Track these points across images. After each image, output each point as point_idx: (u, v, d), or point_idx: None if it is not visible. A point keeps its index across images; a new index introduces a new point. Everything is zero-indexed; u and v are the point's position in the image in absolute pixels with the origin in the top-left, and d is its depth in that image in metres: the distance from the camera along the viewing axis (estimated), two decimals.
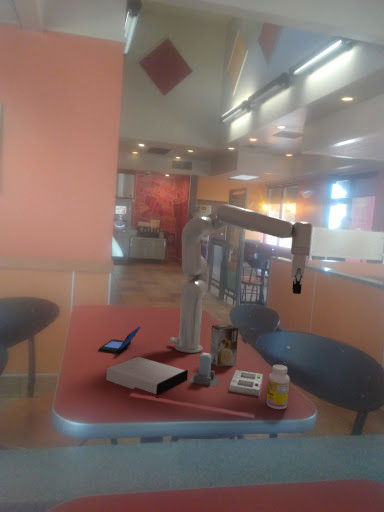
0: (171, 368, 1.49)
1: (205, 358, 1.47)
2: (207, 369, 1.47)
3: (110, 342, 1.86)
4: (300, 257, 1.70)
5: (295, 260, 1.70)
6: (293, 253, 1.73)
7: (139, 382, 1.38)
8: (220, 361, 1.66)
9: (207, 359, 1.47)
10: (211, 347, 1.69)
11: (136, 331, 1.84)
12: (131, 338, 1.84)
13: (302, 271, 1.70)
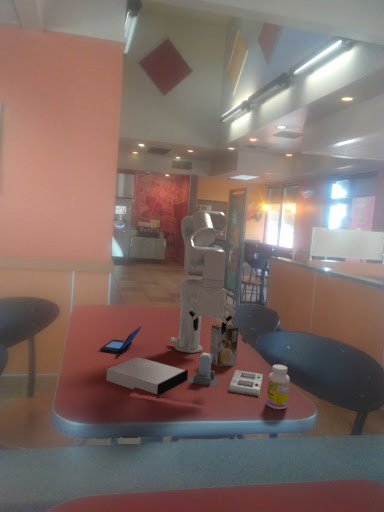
0: (171, 368, 1.49)
1: (205, 358, 1.47)
2: (207, 369, 1.47)
3: (111, 342, 1.85)
4: None
5: (224, 296, 1.44)
6: (217, 288, 1.44)
7: (140, 382, 1.37)
8: (220, 361, 1.66)
9: (207, 359, 1.47)
10: (211, 347, 1.69)
11: (137, 331, 1.84)
12: (132, 338, 1.84)
13: None
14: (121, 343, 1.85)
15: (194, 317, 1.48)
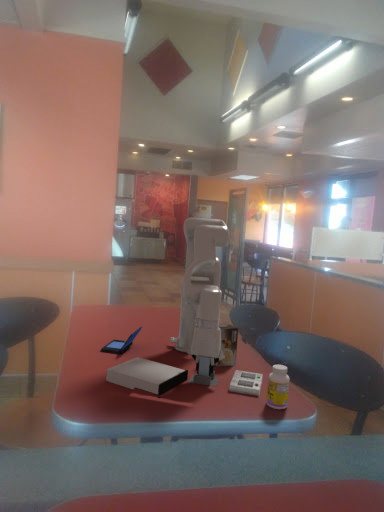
0: (171, 368, 1.49)
1: (205, 358, 1.47)
2: (207, 369, 1.47)
3: (112, 342, 1.85)
4: (220, 331, 1.47)
5: (219, 336, 1.45)
6: (213, 328, 1.44)
7: (140, 382, 1.37)
8: (220, 361, 1.66)
9: (207, 359, 1.47)
10: None
11: (138, 331, 1.84)
12: (133, 338, 1.84)
13: None
14: (122, 343, 1.85)
15: (197, 360, 1.48)
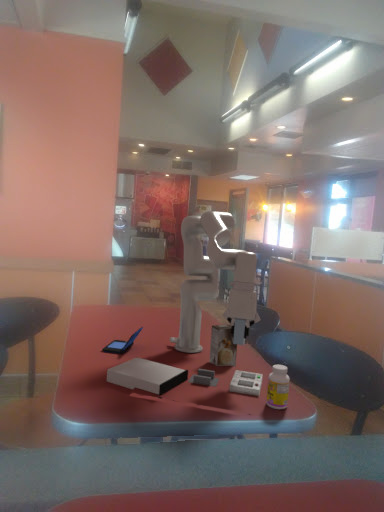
0: (171, 368, 1.49)
1: (240, 321, 1.47)
2: (242, 332, 1.47)
3: (113, 342, 1.85)
4: None
5: (255, 298, 1.46)
6: (248, 290, 1.45)
7: (141, 383, 1.37)
8: (220, 361, 1.66)
9: (242, 322, 1.47)
10: (211, 347, 1.69)
11: (139, 331, 1.84)
12: (134, 338, 1.84)
13: None
14: (123, 343, 1.85)
15: (232, 323, 1.49)
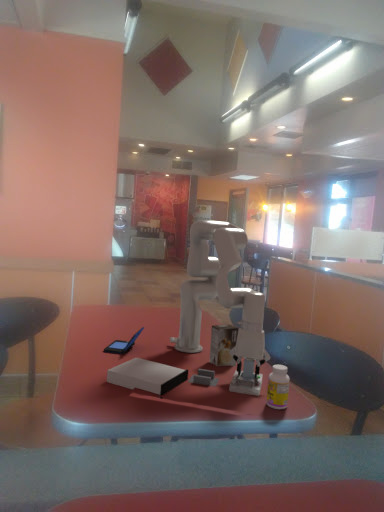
0: (171, 368, 1.49)
1: (249, 362, 1.49)
2: (251, 373, 1.49)
3: (114, 343, 1.85)
4: None
5: (263, 338, 1.48)
6: (257, 331, 1.47)
7: (142, 383, 1.37)
8: (220, 361, 1.66)
9: (251, 363, 1.49)
10: (211, 347, 1.69)
11: (140, 331, 1.84)
12: (135, 338, 1.84)
13: None
14: (124, 343, 1.85)
15: (238, 361, 1.51)
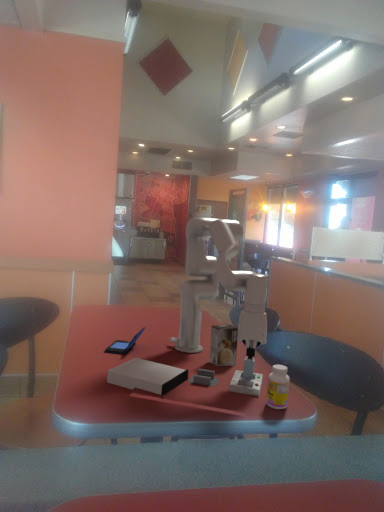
0: (171, 368, 1.50)
1: (249, 362, 1.49)
2: (251, 373, 1.49)
3: (115, 343, 1.85)
4: (266, 315, 1.49)
5: (266, 320, 1.47)
6: (259, 312, 1.46)
7: (143, 383, 1.37)
8: (220, 361, 1.66)
9: (252, 363, 1.49)
10: (211, 347, 1.69)
11: (141, 332, 1.84)
12: (136, 339, 1.84)
13: None
14: (125, 344, 1.85)
15: (247, 345, 1.49)
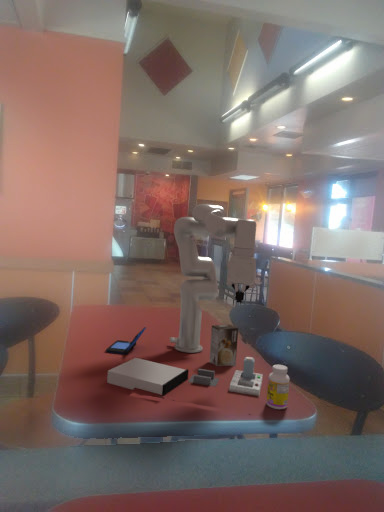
0: (171, 368, 1.50)
1: (249, 362, 1.49)
2: (251, 373, 1.49)
3: (116, 343, 1.85)
4: (255, 260, 1.52)
5: (255, 264, 1.51)
6: (248, 256, 1.50)
7: (143, 383, 1.37)
8: (220, 361, 1.66)
9: (251, 363, 1.49)
10: (211, 347, 1.69)
11: (142, 332, 1.84)
12: (137, 339, 1.84)
13: None
14: (126, 344, 1.85)
15: (236, 289, 1.53)
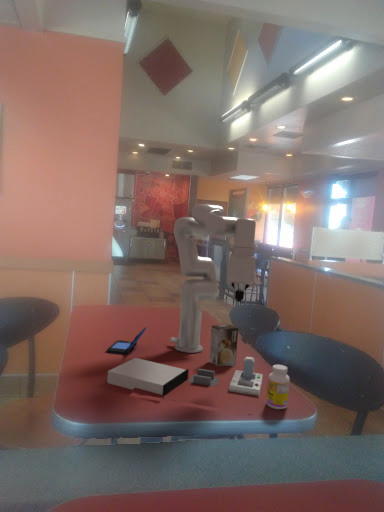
0: (171, 368, 1.49)
1: (249, 362, 1.49)
2: (251, 373, 1.49)
3: (116, 343, 1.85)
4: None
5: (254, 263, 1.51)
6: (248, 255, 1.50)
7: (144, 384, 1.37)
8: (220, 361, 1.66)
9: (251, 363, 1.49)
10: (211, 347, 1.69)
11: None
12: None
13: None
14: (127, 344, 1.85)
15: (236, 288, 1.53)
